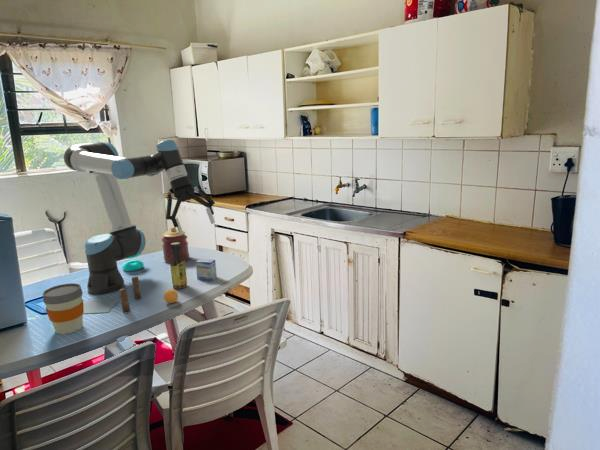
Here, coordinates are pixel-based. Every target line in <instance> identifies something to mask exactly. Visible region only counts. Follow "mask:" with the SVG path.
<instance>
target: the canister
mask: <svg viewBox="0 0 600 450" xmlns="http://www.w3.org/2000/svg"><path fill="white" fill-rule="evenodd" d="M182 231H183V230H182ZM183 233H184V234H182V235H180V234H179V231H178V229H177V227H174V226H173V227H171V228H170V230H166V231H165V232H164V233H163V234H162V238H161V241H162V251H163V260H164V262H165V263H167V264H170V258H171V256H172V248H171V243H175V242H179V243H180V244H181V246H180V248H181V253H182V255H183V258H184V260H185V262H187V261H188V260H189V259H190V253H189V245H188V244H189V242H188V241H187V239H188V235H186V232H185V231H183Z"/></svg>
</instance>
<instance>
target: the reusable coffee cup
mask: <svg viewBox="0 0 600 450" xmlns="http://www.w3.org/2000/svg"><path fill="white" fill-rule="evenodd" d="M42 301H43V303H44V304H45V306H46V307H45V311H46V314H47V316H48V319H49V322H51V323H52V325H53V329H54V332H55V334H57V333H59V334H58V335H67V334H66V333H69V334H72V333H71V332H73V333H75V332H77V331H76V330H78V329H79V330H81V329H82V328H83V327H82V326H84V321H83V318H84V314H83V313H84V306H83V304H84V299H83V290H82V286H81V284H79V283H62V284H59V285H55V286H52V287H48V288H47V289H46V290H44V291H43V292H42ZM81 327H82V328H81ZM80 328H81V329H80ZM79 330H78V331H79ZM74 331H75V332H74Z"/></svg>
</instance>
